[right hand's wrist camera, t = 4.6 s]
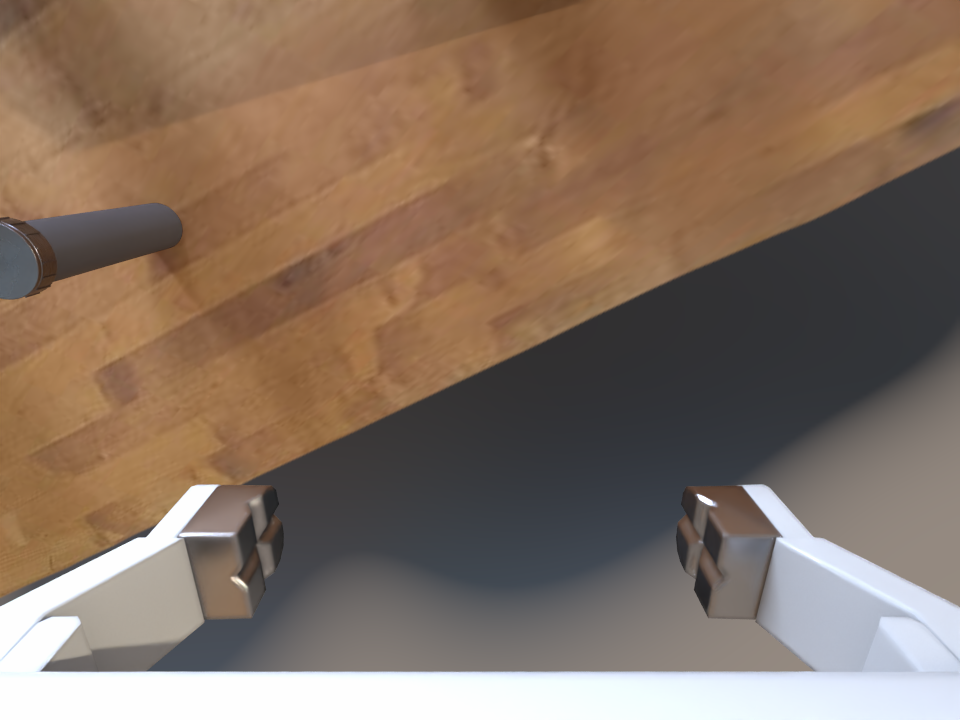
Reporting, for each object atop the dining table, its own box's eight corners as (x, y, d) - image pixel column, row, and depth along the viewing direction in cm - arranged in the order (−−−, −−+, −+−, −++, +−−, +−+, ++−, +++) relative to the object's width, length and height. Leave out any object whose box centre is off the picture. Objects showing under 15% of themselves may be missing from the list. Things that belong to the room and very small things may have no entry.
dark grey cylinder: (149, 193, 54) (-18, 211, 36) (190, 222, 55) (47, 255, 37) (129, 229, 55) (-43, 264, 37) (169, 257, 57) (21, 305, 38)
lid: (-5, 200, 37) (-29, 202, 35) (70, 251, 38) (51, 255, 37) (-34, 261, 39) (-58, 266, 37) (39, 308, 40) (20, 315, 38)
